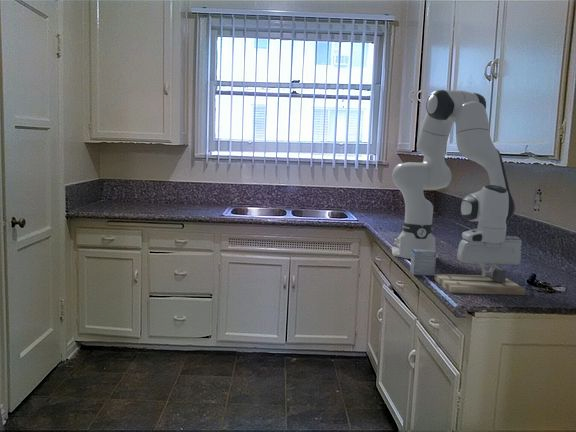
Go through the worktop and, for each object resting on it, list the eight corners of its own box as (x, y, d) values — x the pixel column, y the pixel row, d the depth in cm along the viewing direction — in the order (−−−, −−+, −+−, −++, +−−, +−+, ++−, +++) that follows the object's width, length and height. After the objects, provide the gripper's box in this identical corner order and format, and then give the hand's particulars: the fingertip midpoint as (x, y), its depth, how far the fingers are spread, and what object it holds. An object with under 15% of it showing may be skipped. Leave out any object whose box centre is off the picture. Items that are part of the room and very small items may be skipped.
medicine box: (431, 273, 187) (433, 249, 186) (434, 276, 182) (436, 252, 181) (409, 272, 187) (411, 248, 185) (413, 275, 182) (414, 251, 181)
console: (433, 279, 178) (434, 273, 177) (501, 281, 179) (502, 275, 179) (450, 292, 162) (450, 286, 162) (524, 294, 163) (525, 288, 163)
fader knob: (489, 277, 173) (490, 266, 172) (498, 278, 173) (499, 266, 172) (496, 281, 168) (497, 269, 167) (505, 282, 168) (506, 270, 167)
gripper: (517, 234, 172) (513, 275, 173) (457, 232, 171) (453, 273, 173) (526, 238, 165) (522, 279, 167) (464, 236, 164) (460, 278, 166)
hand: (486, 276), depth 170 cm, fingers closed
